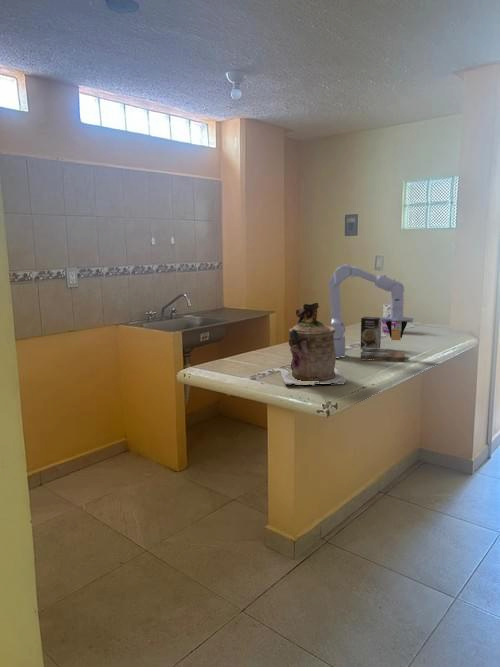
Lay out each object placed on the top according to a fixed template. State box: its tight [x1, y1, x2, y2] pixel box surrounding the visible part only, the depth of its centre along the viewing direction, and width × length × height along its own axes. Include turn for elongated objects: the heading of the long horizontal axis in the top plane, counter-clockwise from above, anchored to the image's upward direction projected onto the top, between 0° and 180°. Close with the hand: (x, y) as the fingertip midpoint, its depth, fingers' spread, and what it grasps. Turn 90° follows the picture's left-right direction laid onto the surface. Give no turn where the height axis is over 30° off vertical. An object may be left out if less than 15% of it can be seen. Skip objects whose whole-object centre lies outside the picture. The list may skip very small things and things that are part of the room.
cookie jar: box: [279, 301, 347, 386], centre depth 200 cm, size 25×25×32 cm
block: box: [390, 329, 402, 341], centre depth 228 cm, size 4×4×4 cm
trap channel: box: [360, 348, 406, 363], centre depth 232 cm, size 20×11×4 cm, turn 73°
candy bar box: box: [382, 303, 401, 334], centre depth 291 cm, size 11×5×16 cm, turn 25°
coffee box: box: [360, 316, 382, 349], centre depth 251 cm, size 9×6×16 cm
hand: (396, 337), depth 229 cm, fingers closed on block, 4 cm apart
